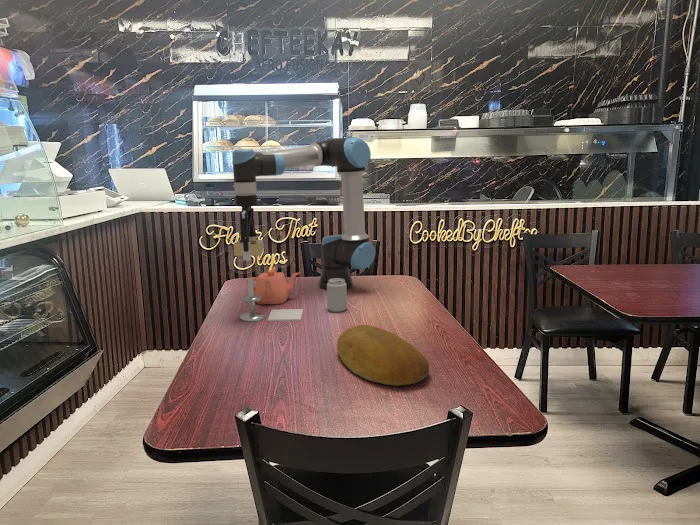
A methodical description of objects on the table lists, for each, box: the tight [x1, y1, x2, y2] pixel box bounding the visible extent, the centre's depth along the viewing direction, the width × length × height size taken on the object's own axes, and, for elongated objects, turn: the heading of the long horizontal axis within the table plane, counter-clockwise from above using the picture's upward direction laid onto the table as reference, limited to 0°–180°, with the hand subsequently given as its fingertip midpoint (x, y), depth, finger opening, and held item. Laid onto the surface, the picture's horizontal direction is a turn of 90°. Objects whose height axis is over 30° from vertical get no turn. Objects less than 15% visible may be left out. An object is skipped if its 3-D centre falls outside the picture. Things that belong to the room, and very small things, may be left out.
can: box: [326, 278, 348, 313], centre depth 200 cm, size 8×8×12 cm
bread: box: [336, 324, 430, 387], centre depth 149 cm, size 18×35×10 cm, turn 32°
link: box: [232, 239, 265, 257], centre depth 188 cm, size 9×9×4 cm
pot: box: [245, 266, 301, 305], centre depth 215 cm, size 18×17×12 cm
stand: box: [239, 277, 266, 323], centre depth 192 cm, size 9×9×15 cm
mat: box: [267, 308, 304, 322], centre depth 196 cm, size 12×12×1 cm
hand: (249, 257), depth 189 cm, fingers closed on link, 9 cm apart
